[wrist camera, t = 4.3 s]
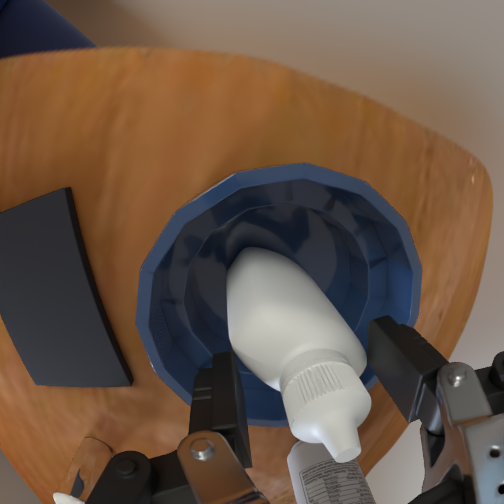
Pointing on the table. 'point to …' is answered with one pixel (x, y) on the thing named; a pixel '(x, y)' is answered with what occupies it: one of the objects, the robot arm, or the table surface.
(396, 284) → the bowl
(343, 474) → the energy drink can
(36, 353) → the mat
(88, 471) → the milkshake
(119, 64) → the table surface
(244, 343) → the eye dropper bottle
